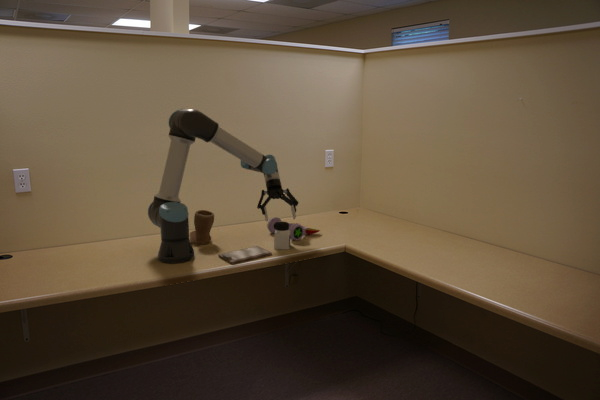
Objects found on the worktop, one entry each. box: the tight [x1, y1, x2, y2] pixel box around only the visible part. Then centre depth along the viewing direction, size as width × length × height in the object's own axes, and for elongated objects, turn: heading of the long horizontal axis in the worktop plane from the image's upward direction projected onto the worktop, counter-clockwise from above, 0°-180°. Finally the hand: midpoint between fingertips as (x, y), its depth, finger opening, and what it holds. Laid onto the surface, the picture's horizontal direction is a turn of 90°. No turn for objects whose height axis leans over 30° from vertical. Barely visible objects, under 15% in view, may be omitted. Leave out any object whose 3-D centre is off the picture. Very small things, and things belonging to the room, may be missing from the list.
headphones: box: [266, 216, 321, 241], centre depth 229 cm, size 20×10×20 cm
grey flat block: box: [217, 245, 273, 265], centre depth 197 cm, size 20×12×2 cm, turn 128°
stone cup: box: [189, 209, 215, 244], centre depth 217 cm, size 15×12×15 cm
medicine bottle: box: [273, 220, 291, 250], centre depth 207 cm, size 7×7×12 cm
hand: (281, 219), depth 213 cm, fingers open, 13 cm apart
